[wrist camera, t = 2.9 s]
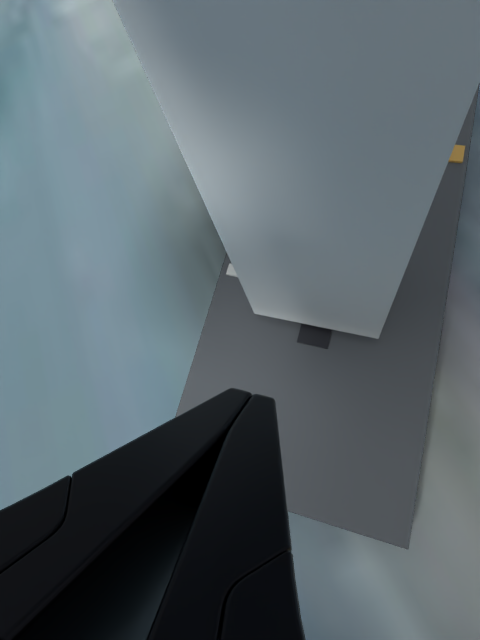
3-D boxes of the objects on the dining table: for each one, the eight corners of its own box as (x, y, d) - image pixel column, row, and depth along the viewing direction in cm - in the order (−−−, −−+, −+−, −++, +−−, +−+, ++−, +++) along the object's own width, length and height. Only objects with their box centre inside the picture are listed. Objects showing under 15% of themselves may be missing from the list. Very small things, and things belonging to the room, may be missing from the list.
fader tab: (380, 341, 16) (626, -241, 3) (251, 315, 17) (17, -172, 4) (398, 251, 17) (637, -481, 4) (274, 232, 18) (146, -368, 5)
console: (402, 543, 15) (409, 550, 14) (169, 469, 17) (157, 469, 16) (475, 78, 21) (484, 54, 20) (292, 69, 23) (290, 46, 22)
